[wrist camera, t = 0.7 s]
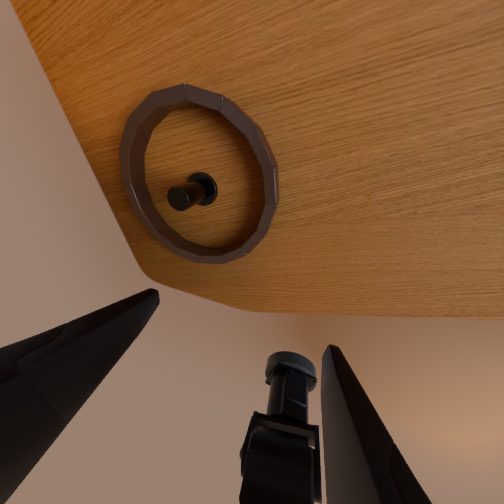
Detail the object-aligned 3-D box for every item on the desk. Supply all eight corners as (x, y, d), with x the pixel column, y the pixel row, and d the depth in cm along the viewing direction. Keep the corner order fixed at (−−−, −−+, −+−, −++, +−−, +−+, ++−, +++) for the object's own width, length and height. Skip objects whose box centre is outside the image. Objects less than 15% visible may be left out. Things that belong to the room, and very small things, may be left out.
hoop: (253, 272, 23) (249, 283, 21) (139, 228, 24) (127, 235, 22) (306, 124, 15) (306, 121, 13) (131, 68, 16) (110, 59, 14)
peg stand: (215, 208, 20) (193, 223, 16) (187, 198, 20) (160, 210, 17) (220, 178, 19) (197, 186, 15) (190, 167, 19) (160, 173, 15)
